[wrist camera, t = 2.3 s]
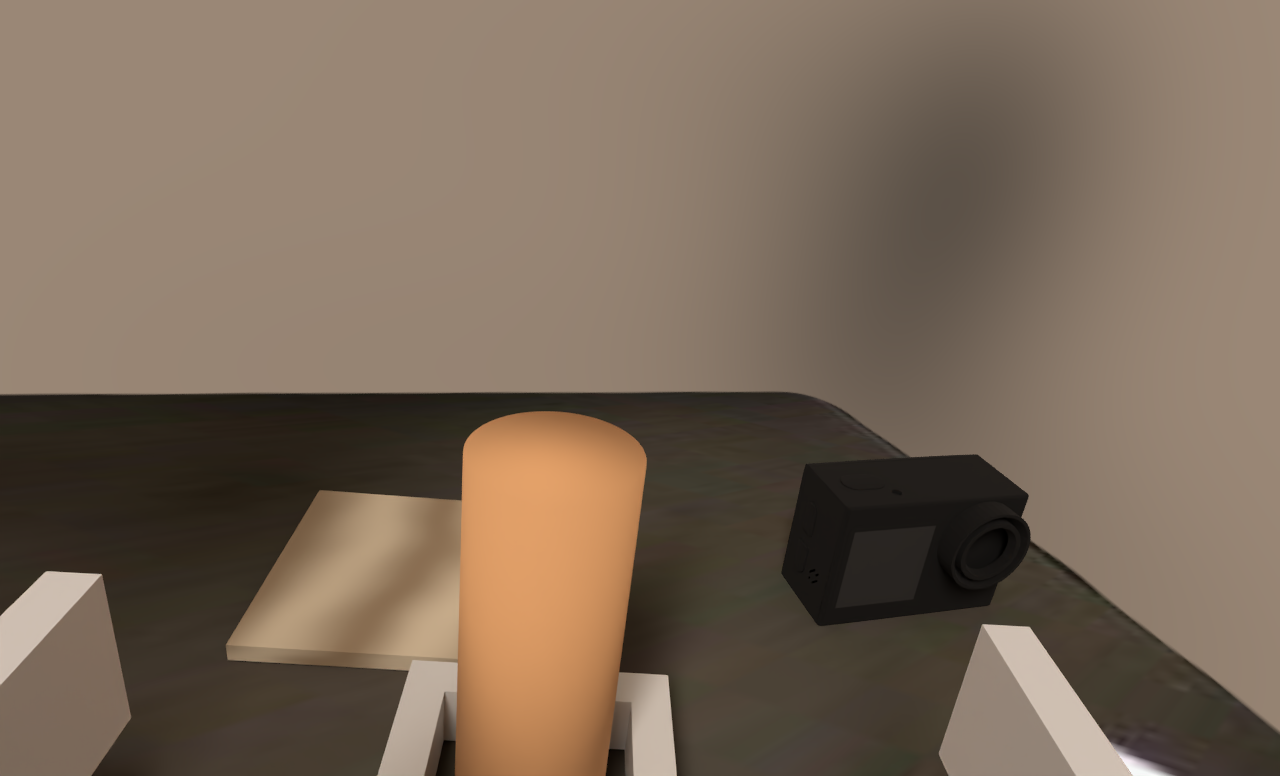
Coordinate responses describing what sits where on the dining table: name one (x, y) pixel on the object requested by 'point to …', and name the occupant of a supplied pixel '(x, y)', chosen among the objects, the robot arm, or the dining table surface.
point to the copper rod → (543, 592)
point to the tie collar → (433, 720)
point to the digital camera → (903, 536)
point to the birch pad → (360, 586)
